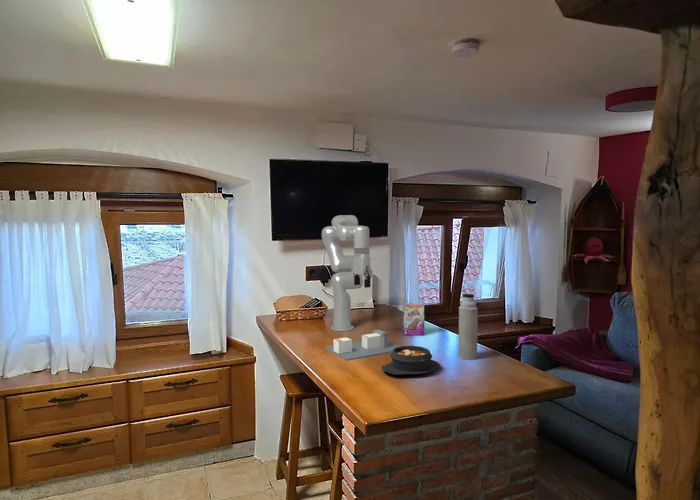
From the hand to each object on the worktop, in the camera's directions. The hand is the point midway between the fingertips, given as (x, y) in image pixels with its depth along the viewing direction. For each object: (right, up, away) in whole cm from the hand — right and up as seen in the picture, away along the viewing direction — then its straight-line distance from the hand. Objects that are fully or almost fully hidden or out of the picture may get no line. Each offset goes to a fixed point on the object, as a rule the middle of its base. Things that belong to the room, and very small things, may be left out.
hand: (362, 286), depth 227 cm
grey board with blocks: (+1, -29, -9) cm, 30 cm away
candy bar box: (+28, -27, +16) cm, 42 cm away
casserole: (+19, -31, -40) cm, 54 cm away
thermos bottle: (+46, -30, -24) cm, 60 cm away
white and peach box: (-9, -30, -15) cm, 34 cm away
